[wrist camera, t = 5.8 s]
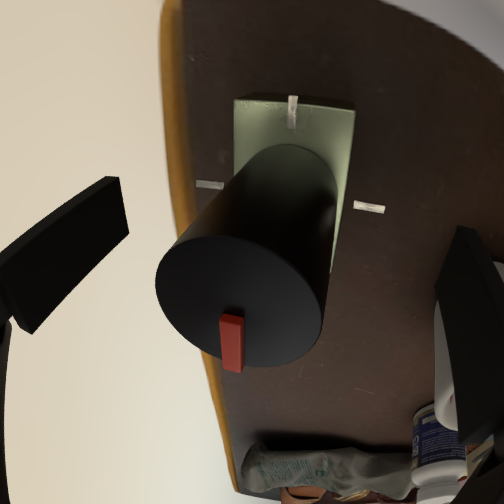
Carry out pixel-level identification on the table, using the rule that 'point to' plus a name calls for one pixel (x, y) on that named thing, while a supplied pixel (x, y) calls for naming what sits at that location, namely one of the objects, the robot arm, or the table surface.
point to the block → (473, 455)
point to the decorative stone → (352, 497)
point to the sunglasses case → (301, 494)
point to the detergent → (328, 470)
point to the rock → (409, 500)
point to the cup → (446, 371)
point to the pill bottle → (436, 459)
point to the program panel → (297, 137)
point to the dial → (256, 262)
